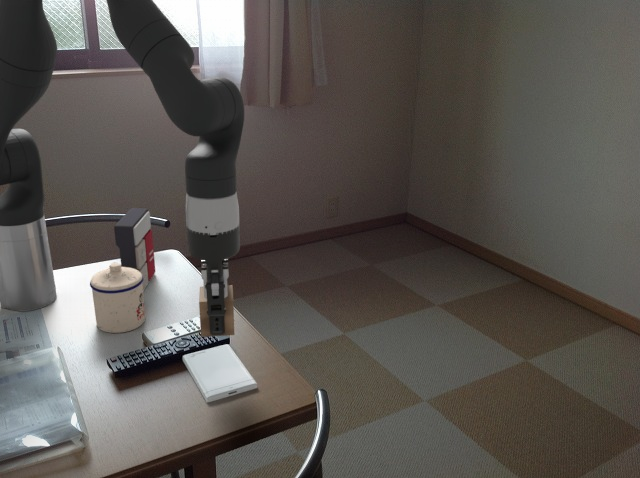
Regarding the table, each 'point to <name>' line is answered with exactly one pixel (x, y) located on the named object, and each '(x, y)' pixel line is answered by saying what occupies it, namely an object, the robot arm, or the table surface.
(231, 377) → the hard drive
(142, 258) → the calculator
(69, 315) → the table surface
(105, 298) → the teacup with lid
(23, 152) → the robot arm
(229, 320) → the tan block
